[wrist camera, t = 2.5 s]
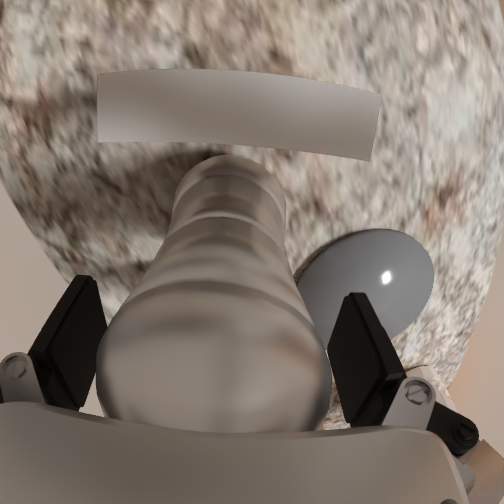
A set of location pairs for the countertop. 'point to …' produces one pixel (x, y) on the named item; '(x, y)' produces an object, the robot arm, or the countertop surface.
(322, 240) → the countertop surface
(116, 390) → the grey bulging hollow cylinder
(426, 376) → the white cup
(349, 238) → the coaster
